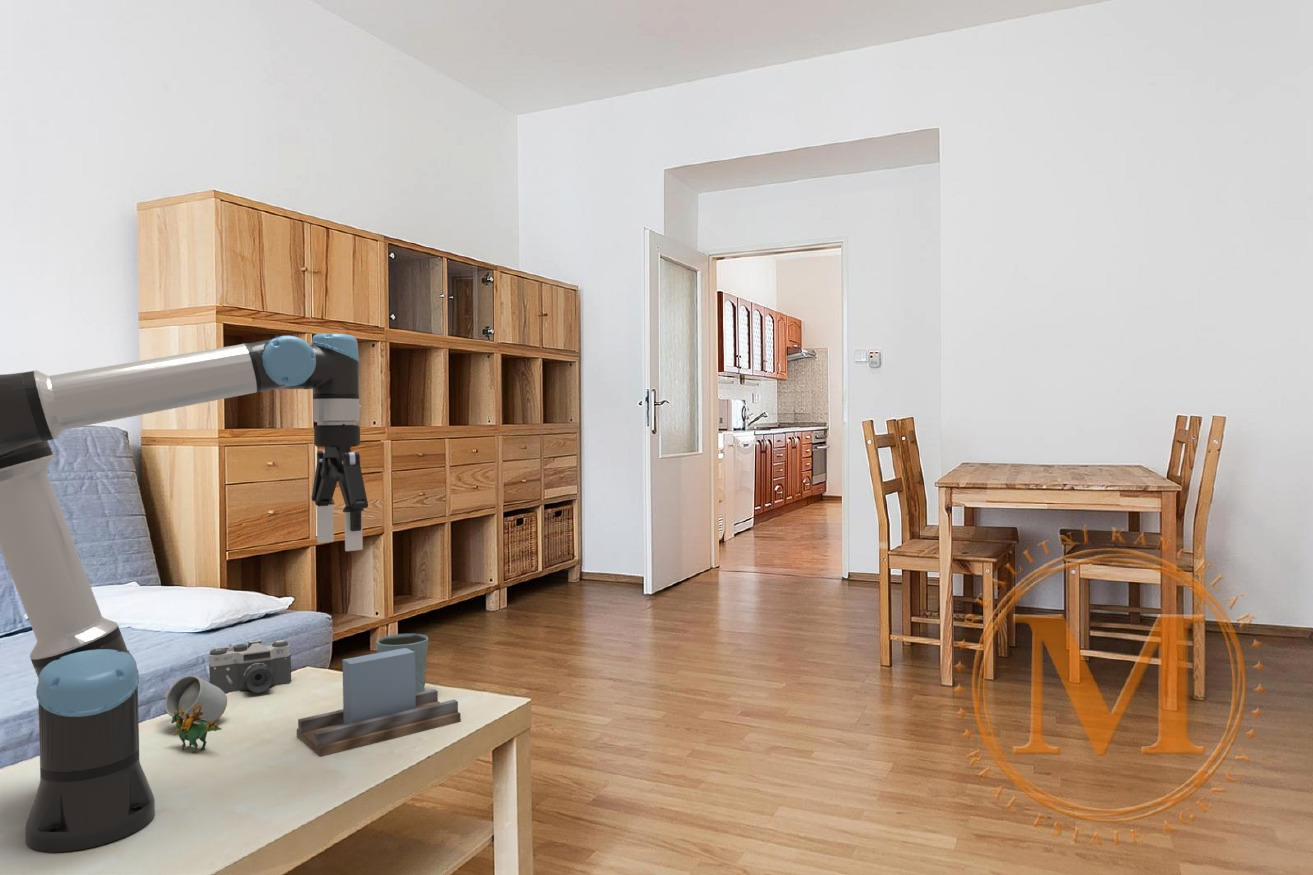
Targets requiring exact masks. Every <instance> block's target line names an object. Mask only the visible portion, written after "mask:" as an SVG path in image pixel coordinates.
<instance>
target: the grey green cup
mask: <svg viewBox="0 0 1313 875" xmlns="http://www.w3.org/2000/svg"><path fill="white" fill-rule="evenodd" d="M375 644H376V651H377V652H376V653H381V652H386V651H392V650H397V649H403V648H407V649H409V650H411V651H414V652H415V690H416V693H419V692H424V691H426V690H425V686H426V672H427V671H426V670H427V657H428V647H429V637H428V635H425V634H421V633H397V634H391V635H386V636H383V637H380V638H378V639H376V643H375Z"/></svg>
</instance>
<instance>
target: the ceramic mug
mask: <svg viewBox="0 0 1313 875" xmlns="http://www.w3.org/2000/svg"><path fill="white" fill-rule="evenodd" d="M226 694H227V693H224V692H223V691H222V690H221V689H220V688H218V687H217V686H215V685H213V684H211V683H210V681H207V680H205V679H203V678H201V677H200V676H198V675H195V674H192V675H191V674H190V675H186V676H184V677H181V678H179V680H177V681H176V682H174V684H173V685H172V686H171V688H170V689H167V690H166V691H165V692H164V694H163V696H162V699H163V700H165V701H164V708H165V712H166V713H167V714H168V716H170V717H171V718H172V717H173V716H174V712H175V711H178V712H179V711H180V710H181V709H183V711H184V714H183V716H181V714H179V716H181V717H182V718H183V721H184V720H185V719H186V717H185V714H187V713H189V717H190V716H191V715H192V714H193V709H194V707H195V706H197V705H201V706H202V709H201V711H200V712H204V713H203V715H200V716H199V718H201V719H205V720H209V721H211V722H213V724H215V723H216V722H217V721H218V720H219V719H220V718H221V717H222V715H223V714H224V712H225V710H226V709H227V704H228V698H227V695H226ZM195 712H199V707H198V708H196V710H195ZM176 713H177V712H176ZM176 713H175V714H176ZM196 715H197V714H196ZM209 721H207V722H204V723H206V724H208V722H209ZM202 722H203V721H202Z"/></svg>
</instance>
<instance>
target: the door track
mask: <svg viewBox="0 0 1313 875" xmlns="http://www.w3.org/2000/svg"><path fill="white" fill-rule="evenodd" d="M438 692H439V691H438V690H437V689H434V688H433V689H430V690H425V691H424V692H419V693H416V708H415V709H411V710H407V711H403V712H398V713H394V714H390V715H385V716H381V717H377V718H373V719H368V720H364V721H360V722H355V723H351V724H347V725H344V717H343V709H338V710H334V711H329V712H325V713H320V714H315V715H313V716H307V717H302V718H298V720H297V721H298V723H297V727H298V728H296V738H298V740H300V741H301V742H302V743H304V745H305V746H307V747H308V749H310V750H311V751H312V752H314V753H315V754H316V756H318V757H324V756H328V755H332V754H336V753H341V752H343V751H347V750H352V749H355V748H360V747H364V746H368V745H372V744H375V743H380V742H383V741H387V740H392V739H396V738H400V737H403V736H408V735H411V734H414V733H415V734H416V733H419V732H423V731H427V730H430V729H435V728H439V727H443V726H447V725H451V724H455V723H459V722H461V717H462V716H461V712H459V703H458V702H459V701H457V699H452V700H445V701H441V702H440V701H439V700H438V697H439V696H438V695H439V694H438Z"/></svg>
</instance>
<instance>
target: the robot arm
mask: <svg viewBox="0 0 1313 875" xmlns="http://www.w3.org/2000/svg"><path fill="white" fill-rule="evenodd" d="M358 346H359V345H358V340H357V338H356V337H355V336H353V335H351V334H350V335H349V334H345V333H317V334H314V335H313V337H312V340H311V342H310V344H309V343H308V342H307V341H305V339H302V338H300V337H297V336H293V335H281V336H280V335H279V336H276V337H274V338H272V339H265V340H261V341H255V342H250V343H241V344H236V345H231V346H230V345H229V346H223V347H218V348H217V347H216V348H212V349H205V350H199V351H194V352H193V351H191V352H188V353H180V354H175V355H169V356H168V355H167V356H163V357H157V358H150V359H145V360H143V359H142V360H137V361H133V362H127V363H126V362H125V363H119V364H114V365H107V366H102V367H95V368H90V369H83V370H77V371H72V372H71V371H70V372H64V373H58V374H53V375H48V374H45V373H43V372H41V371H39V370H37V369H36V370H31V371H25V372H24V371H23V372H17V373H7V374H5V373H4V374H0V551H1V553H2V556H3V559H4V561H5V564H6V567H7V568H8V571H9V573H10V576H11V578H12V581H13V584H14V586H15V588H16V591H17V594H18V596H19V599H20V601H21V604H22V606H23V608H24V611H25V614H26V616H27V619H28V622H29V624H30V626H31V629H32V631H33V634H34V636H35V638H36V643H35V645H34V647H33V649H32V650H31V653H30V654H29V658H30V660H31V664H32V665H33V669H34V671H35V673H36V676H37V680H38V681H37V682H38V683H37V686H36V691H35V693H36V695H35V696H36V699H37V703H38V732H39V734H38V735H39V736H38V738H39V740H38V741H39V742H38V743H39V767H40V768H39V770H40V771H39V772H40V773H39V774H40V776H39V777H40V779H39V784H38V788H37V790H36V793H35V797H34V799H33V802H32V806H31V808H30V811H29V814H28V817H27V820H26V823H25V843H26V846H28V848H31V849H32V850H35V851H39V852H45V853H46V852H47V853H48V852H49V853H64V852H72V851H73V852H74V851H80V850H85V849H89V848H90V849H92V848H94V847H95V848H96V847H99V846H102V845H106V844H109V843H112V842H115V841H118V840H120V839H123V838H125V837H128V836H131V834H134V833H136V832H137V831H139V830H141V829H142V828H144V827H146V825H148V824H149V823H150V822H151V821H152V820H153V819H154V817H155V814H156V810H155V809H156V807H155V806H156V805H155V804H156V803H155V796H154V793H153V791H152V788H151V786H150V784H149V782H148V779H147V777H146V774H145V771H144V769H143V767H142V765H141V762H140V728H139V721H140V718H139V689H138V688H139V686H138V685H139V683H140V673H139V669H138V666H137V664H138V663H137V661H136V660H135V658H134V656H133V654H131V653H130V650H128V648H127V645H126V643H125V639H124V637H123V635H122V632H121V630H120V626H119V624H118V622H116V621H113V620H110V619H107V618H105V617H104V616H103V615H102V613H101V610H100V608H99V604H98V602H97V599H96V597H95V595H94V592H93V589H92V586H91V584H90V582H89V578H88V576H87V574H86V571H85V568H84V566H83V563H82V561H81V558H80V555H79V552H78V550H77V548H76V545H75V543H74V539H73V537H72V535H71V531H70V530H69V526H68V524H67V521H66V519H65V516H64V513H63V511H62V509H61V508H62V507H61V506H60V503H59V501H58V498H57V495H56V492H55V490H54V488H53V484H52V482H51V479H50V476H49V474H48V472H47V470H48V467H49V465H50V464H51V463H52V462H51V461H52V460H53V458H54V454H53V451H52V448H51V446H50V443H49V441H52V440H53V441H54V440H57V439H58V438H59V436H60V435H61V434H62V433H63V432H64V431H65V430H69V429H71V430H72V429H75V428H80V427H85V426H91V425H96V424H101V423H106V422H111V421H117V420H120V419H121V420H122V419H127V418H132V417H137V416H141V415H142V416H143V415H147V414H148V415H149V414H153V413H157V412H161V411H162V412H163V411H169V410H172V409H173V410H174V409H178V408H183V407H189V406H194V405H198V404H203V403H208V402H213V401H215V402H216V401H219V400H225V399H229V398H234V397H239V396H245V395H250V394H254V393H262V392H267V391H272V390H312V393H313V397H312V398H313V399H312V408H313V409H312V410H313V411H312V412H313V415H312V416H313V417H312V418H313V420H312V421H314V423H317V424H316V425H314V427H313V444H314V447H317V448H324V450H318V451H317V453H316V466H315V473H314V480H313V484H312V486H313V488H312V493H311V502H314V504H315V506H316V536H317V537H316V538H317V539H316V542H317V543H318V544H323V543H333V542H335V533H334V532H335V530H334V529H335V528H334V527H335V526H334V525H335V524H334V523H335V521H334V505H335V501H334V498H333V497H334V494H335V491H336V487H337V485H339V489H340V492H341V496H342V497H343V498H342V499H343V502H344V505H345V506H344V507H343V510H342V512H343V513H344V550H345V552H352V551H360V550H361V551H362V550H364V549H363V548H364V545H363V544H364V542H363V540H364V538H363V511H364V509H367V508H368V506H369V502H368V498H367V492H366V488H365V483H364V478H363V474H362V473H363V472H362V468H361V460H360V459H361V458H360V457H361V456H360V452H359V451H356V452H354V451H353V452H352V450H351V448H352V447H359V446H360V445H361V427H360V425H357V422H359V421H360V416H361V415H360V411H361V410H362V409H363V408H362V405H361V404H360V361H361V360H360V357H359V347H358Z"/></svg>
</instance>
